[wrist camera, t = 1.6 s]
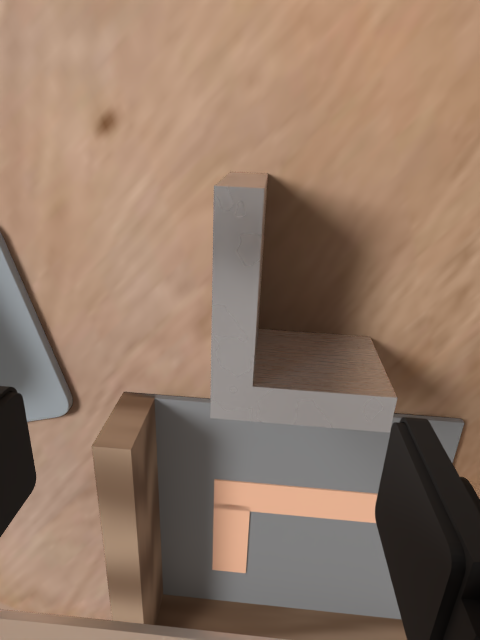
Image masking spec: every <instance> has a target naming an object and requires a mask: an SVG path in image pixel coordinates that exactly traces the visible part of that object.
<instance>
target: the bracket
mask: <svg viewBox="0 0 480 640" xmlns="http://www.w3.org/2000/svg"><path fill="white" fill-rule="evenodd" d="M267 181H268V173H249V172H230V173H228V174H227V175H226V176H225V177H224V178H223V179H221V180H220V181H219V182H218V183H217V184H216V185H214V218H213V281H212V344H211V407H210V418H216V419H228V420H240V421H253V422H265V423H277V424H289V425H302V426H314V427H326V428H339V429H351V430H363V431H375V432H388V433H390V429H391V425H392V420H393V415H394V411H395V406H396V401H397V396H396V394H395V392H394V389H393V387H392V385H391V383H390V380H389V378H388V376H387V374H386V371H385V369H384V367H383V365H382V363H381V360H380V358H379V356H378V354H377V351H376V349H375V347H374V345H373V342H372V340H371V338H370V337H368V336H353V335H339V334H325V333H310V332H296V331H281V330H267V329H258V326H259V310H260V294H261V278H262V261H263V245H264V229H265V213H266V197H267Z"/></svg>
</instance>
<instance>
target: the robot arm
mask: <svg viewBox="0 0 480 640" xmlns="http://www.w3.org/2000/svg"><path fill="white" fill-rule="evenodd" d="M35 483H36V472H35V466H34V460H33V454H32V448H31V442H30V436H29V430H28V424H27V418H26V412H25V406H24V401H23V396H22V395H21V394H20V393H17V390H16V389H15V388H14V387H9V386H0V537H1V535H2V534H3V533H4V531H5V530H6V528H7V527H8V525H9V524H10V522H11V521H12V520H13V518H14V517H15V515H16V514H17V512H18V511H19V510H20V508H21V507H22V505H23V504H24V502H25V501H26V499H27V498H28V497H29V495H30V494H31V492H32V491H33V489H34V486H35ZM375 520H376V524H377V528H378V532H379V536H380V539H381V543H382V547H383V551H384V555H385V558H386V562H387V566H388V570H389V573H390V577H391V581H392V585H393V589H394V592H395V596H396V600H397V604H398V607H399V611H400V615H401V619H402V623H403V626H404V630H405V634H406V638H407V640H480V499H479V498H478V496H477V494H476V492H475V491H474V489H473V487H472V485H471V484H470V483H469V481H468V480H467V479H465V478H464V477H459V475H458V473H457V471H456V469H455V468H454V466H453V464H452V462H451V460H450V458H449V457H448V455H447V453H446V451H445V449H444V448H443V446H442V444H441V442H440V440H439V438H438V437H437V435H436V433H435V431H434V429H433V428H432V426H431V424H430V422H429V421H428V420H427V419H423V418H410V417H402V418H401V420H400V422H399V423H398V422H394V423H393V424H392V427H391V432H390V437H389V442H388V447H387V451H386V456H385V461H384V466H383V471H382V476H381V480H380V485H379V490H378V495H377V500H376V505H375ZM0 640H286V639H277V638H268V637H259V636H250V635H241V634H232V633H223V632H214V631H205V630H196V629H187V628H177V627H168V626H158V625H149V624H140V623H130V622H121V621H111V620H102V619H92V618H82V617H73V616H63V615H54V614H44V613H33V612H23V611H13V610H3V609H0Z"/></svg>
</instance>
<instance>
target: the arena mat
mask: <svg viewBox="0 0 480 640" xmlns="http://www.w3.org/2000/svg"><path fill="white" fill-rule="evenodd" d="M124 394H125V393H124ZM128 394H129V393H128ZM136 394H138V395H139V394H140V393H136ZM132 395H135V393H134V394H132ZM141 395H142V394H141ZM141 395H140V396H141ZM144 395H145V394H143V397H145V396H144ZM150 395H151V394H147V395H146V396H147V397H148V396H150ZM152 395H153V396H154V394H152ZM152 395H151V396H150V397H152ZM133 397H134V396H133ZM150 397H148V398H150ZM152 398H153V397H152ZM154 398H155V421H156V443H157V466H158V488H159V511H160V534H161V556H162V579H163V594H165V595H174V596H184V597H193V598H203V599H212V600H222V601H231V602H241V603H250V604H260V605H269V606H279V607H288V608H298V609H307V610H317V611H326V612H336V613H345V614H355V615H364V616H374V617H383V618H393V619H401V615H400V611H399V607H398V604H397V600H396V596H395V592H394V589H393V585H392V581H391V577H390V573H389V570H388V566H387V562H386V558H385V555H384V551H383V547H382V543H381V539H380V536H379V532H378V528H377V524H376V520H375V505H376V500H377V495H378V490H379V485H380V480H381V476H382V471H383V466H384V461H385V456H386V451H387V447H388V442H389V437H390V433H388V432H375V431H363V430H351V429H339V428H326V427H314V426H302V425H289V424H277V423H265V422H253V421H240V420H228V419H216V418H210V407H211V399H205V398H193V397H180V396H167V395H155V396H154ZM402 417H410V418H423V419H427V420H428V421H429V422H430V424H431V426H432V428H433V429H434V431H435V433H436V435H437V437H438V438H439V440H440V442H441V444H442V446H443V448H444V449H445V451H446V453H447V455H448V457H449V458H450V460H451V462H452V463H453V460H454V456H455V453H456V450H457V446H458V443H459V439H460V436H461V433H462V429H463V426H464V422H463V420H462V419H458V418H445V417H433V416H420V415H408V414H395V413H394V415H393V420H392V424H393V423H394V422H398V423H399V422H400V420H401V418H402ZM391 427H392V425H391ZM390 432H391V429H390Z"/></svg>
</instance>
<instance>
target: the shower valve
mask: <svg viewBox="0 0 480 640" xmlns="http://www.w3.org/2000/svg"><path fill="white" fill-rule="evenodd" d="M0 386H9V387H14V388H15V389H16V390H17V393H20V394H21V395H22V396H23V401H24V406H25V412H26V418H27V422H29V421H35V420H42V419H48V418H55V417H60V416H62V415H64V414H66V413H67V412H68V410H69V409H70V408H71V406H72V403H73V399H72V395H71V392H70V390H69V388H68V385H67V383H66V381H65V378H64V376H63V374H62V372H61V369H60V367H59V365H58V362H57V360H56V358H55V355H54V353H53V351H52V349H51V346H50V344H49V342H48V339H47V337H46V335H45V333H44V330H43V328H42V326H41V323H40V321H39V319H38V316H37V314H36V312H35V310H34V307H33V305H32V303H31V300H30V298H29V296H28V293H27V291H26V289H25V287H24V284H23V282H22V280H21V277H20V275H19V273H18V270H17V268H16V266H15V264H14V261H13V259H12V257H11V254H10V252H9V250H8V248H7V245H6V243H5V241H4V238H3V236H2V234H1V232H0Z"/></svg>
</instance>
